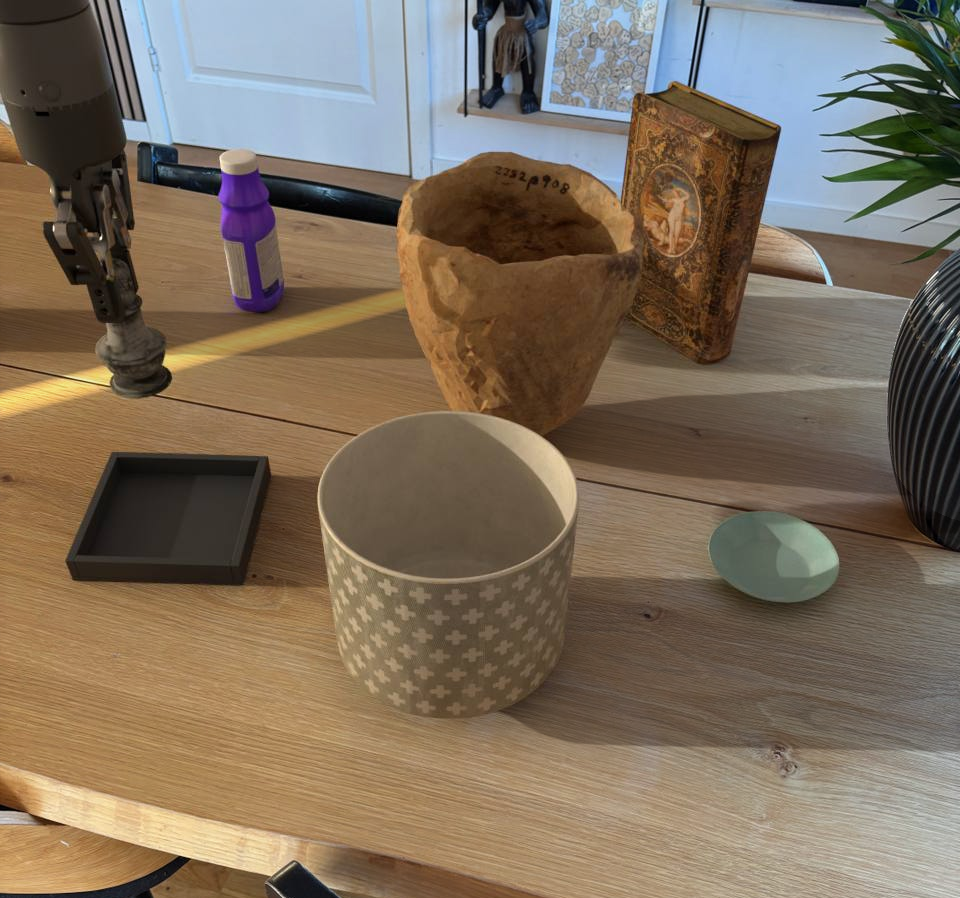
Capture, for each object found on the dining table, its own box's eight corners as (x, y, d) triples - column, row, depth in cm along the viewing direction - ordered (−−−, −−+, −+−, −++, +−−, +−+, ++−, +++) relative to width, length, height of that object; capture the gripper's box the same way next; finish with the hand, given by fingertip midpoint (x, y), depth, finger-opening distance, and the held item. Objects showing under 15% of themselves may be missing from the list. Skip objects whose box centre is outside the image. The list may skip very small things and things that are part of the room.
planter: (584, 601, 91) (606, 437, 78) (526, 767, 79) (539, 609, 66) (387, 554, 95) (375, 391, 81) (303, 707, 83) (272, 545, 69)
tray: (72, 580, 92) (64, 560, 90) (117, 471, 103) (111, 451, 101) (243, 585, 92) (239, 565, 90) (271, 475, 103) (268, 455, 101)
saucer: (836, 626, 90) (843, 608, 88) (702, 608, 91) (706, 590, 89) (829, 537, 98) (836, 519, 96) (705, 521, 99) (710, 503, 97)
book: (738, 352, 118) (790, 129, 100) (705, 368, 116) (752, 143, 97) (639, 293, 127) (670, 78, 108) (607, 307, 125) (633, 90, 106)
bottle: (249, 283, 127) (224, 139, 114) (292, 288, 127) (272, 144, 114) (227, 313, 123) (200, 167, 110) (272, 318, 122) (249, 172, 109)
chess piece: (152, 406, 86) (115, 274, 77) (92, 392, 87) (50, 260, 78) (188, 369, 89) (157, 239, 80) (130, 356, 91) (94, 226, 82)
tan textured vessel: (633, 498, 101) (672, 261, 82) (408, 506, 100) (395, 268, 81) (600, 368, 116) (626, 143, 97) (404, 374, 115) (392, 147, 96)
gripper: (33, 42, 75) (97, 262, 88) (-36, 121, 65) (46, 354, 78) (135, 44, 75) (183, 264, 88) (80, 124, 65) (143, 357, 78)
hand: (118, 306), depth 83 cm, fingers closed on chess piece, 3 cm apart
